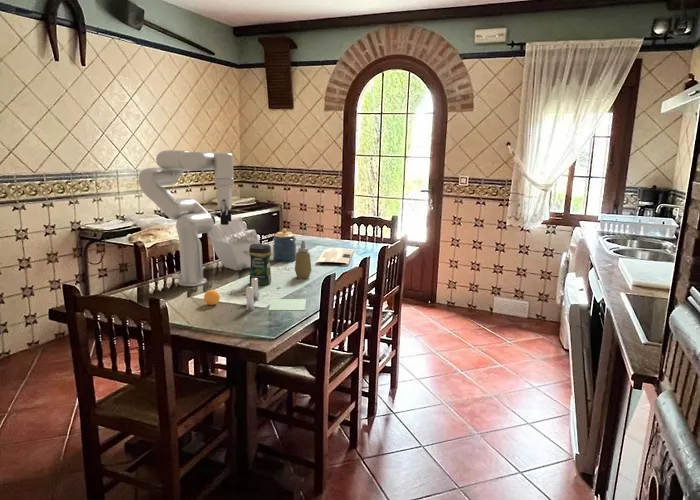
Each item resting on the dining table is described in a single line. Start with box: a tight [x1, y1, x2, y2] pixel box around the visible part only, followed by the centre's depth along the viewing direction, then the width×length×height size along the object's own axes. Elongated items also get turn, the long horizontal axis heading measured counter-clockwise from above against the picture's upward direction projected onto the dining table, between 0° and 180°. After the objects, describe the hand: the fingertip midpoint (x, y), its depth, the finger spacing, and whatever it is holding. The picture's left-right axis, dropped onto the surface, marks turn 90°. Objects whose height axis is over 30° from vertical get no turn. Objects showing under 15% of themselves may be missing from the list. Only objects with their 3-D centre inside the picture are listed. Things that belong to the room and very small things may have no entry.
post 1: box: [245, 286, 255, 312], centre depth 193 cm, size 3×3×9 cm
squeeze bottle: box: [294, 240, 312, 279], centre depth 242 cm, size 8×8×18 cm
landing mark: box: [268, 298, 307, 311], centre depth 201 cm, size 14×14×1 cm
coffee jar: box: [249, 243, 272, 286], centre depth 229 cm, size 10×8×19 cm
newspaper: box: [315, 247, 355, 267], centre depth 287 cm, size 37×19×3 cm, turn 175°
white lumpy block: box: [207, 215, 261, 271], centre depth 258 cm, size 20×16×25 cm
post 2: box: [250, 278, 259, 302], centre depth 205 cm, size 3×3×9 cm
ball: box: [203, 289, 221, 306], centre depth 199 cm, size 6×6×6 cm
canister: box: [272, 228, 297, 263], centre depth 279 cm, size 13×13×18 cm
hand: (226, 223), depth 214 cm, fingers open, 9 cm apart
